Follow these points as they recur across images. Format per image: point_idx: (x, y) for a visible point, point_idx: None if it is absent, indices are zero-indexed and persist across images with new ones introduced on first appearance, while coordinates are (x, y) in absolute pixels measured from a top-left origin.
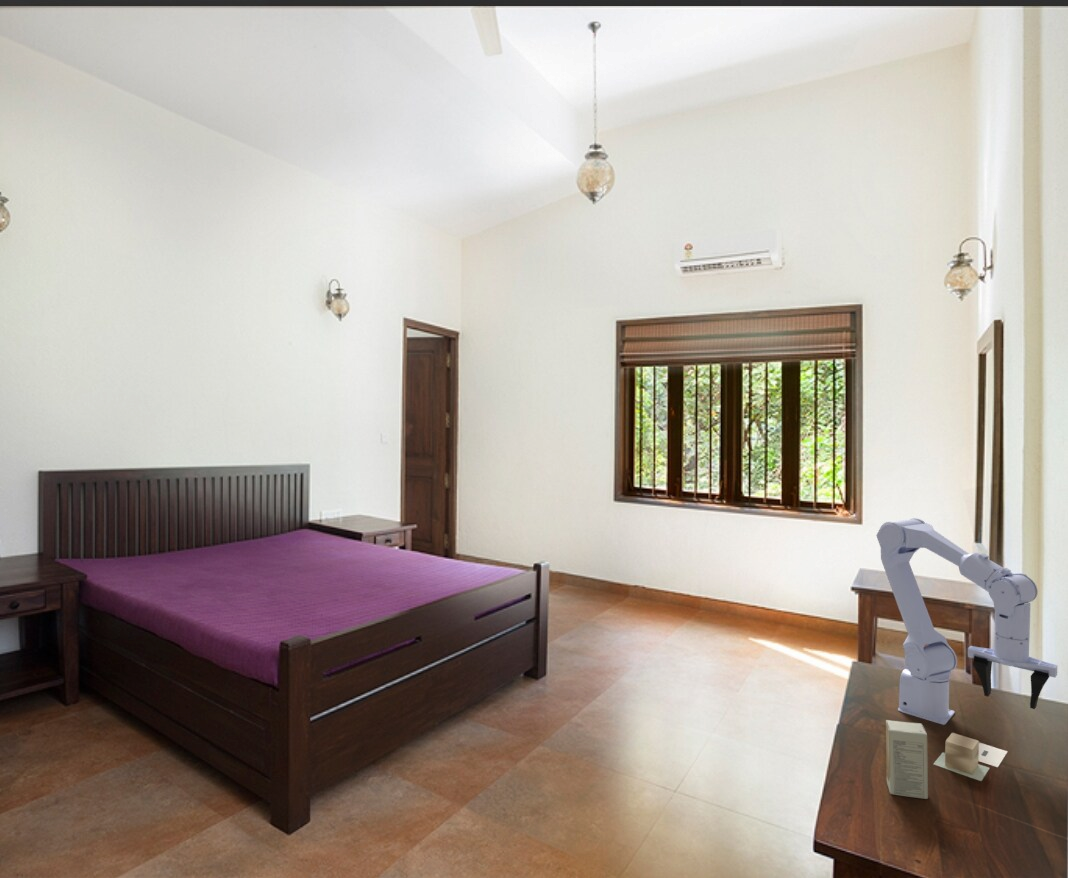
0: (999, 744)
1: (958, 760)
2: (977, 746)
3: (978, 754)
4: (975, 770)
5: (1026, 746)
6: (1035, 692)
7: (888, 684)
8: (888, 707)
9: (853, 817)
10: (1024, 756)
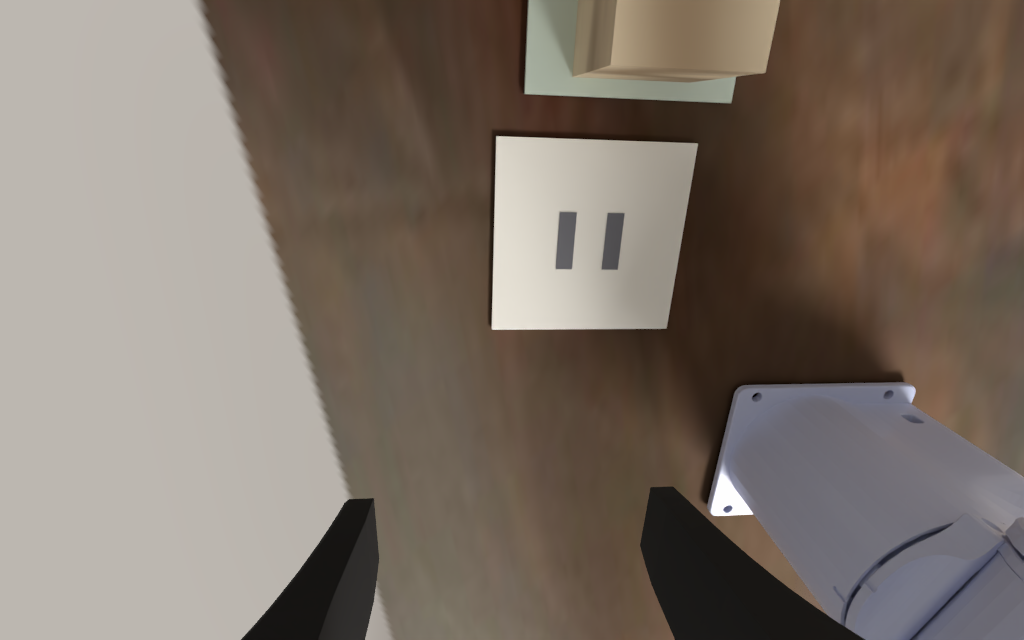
0: (530, 376)
1: None
2: (606, 33)
3: (587, 72)
4: (576, 6)
5: (444, 430)
6: (283, 622)
7: None
8: (940, 393)
9: None
10: (430, 340)
